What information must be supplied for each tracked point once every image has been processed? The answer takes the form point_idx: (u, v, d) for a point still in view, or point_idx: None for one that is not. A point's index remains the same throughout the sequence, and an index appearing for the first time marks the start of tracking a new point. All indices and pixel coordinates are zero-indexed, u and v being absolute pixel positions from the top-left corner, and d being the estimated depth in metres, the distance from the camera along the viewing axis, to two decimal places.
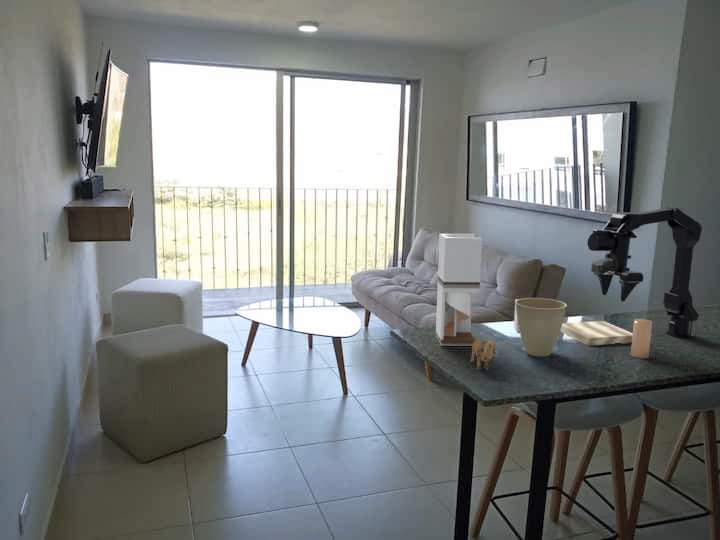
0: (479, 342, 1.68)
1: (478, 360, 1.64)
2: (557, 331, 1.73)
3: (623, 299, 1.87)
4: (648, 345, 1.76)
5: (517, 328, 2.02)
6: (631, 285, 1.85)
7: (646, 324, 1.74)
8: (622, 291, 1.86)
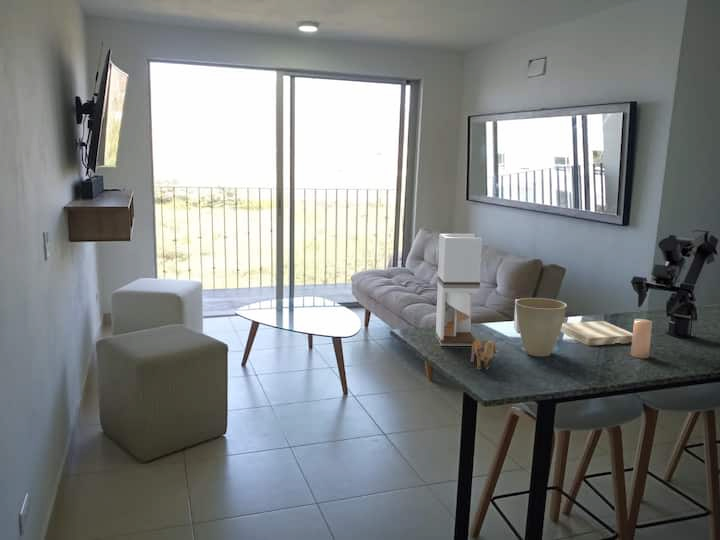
0: (479, 342, 1.69)
1: (478, 360, 1.64)
2: (557, 331, 1.73)
3: (671, 310, 1.78)
4: (648, 345, 1.76)
5: (517, 328, 2.02)
6: (682, 301, 1.79)
7: (646, 324, 1.74)
8: (675, 301, 1.78)
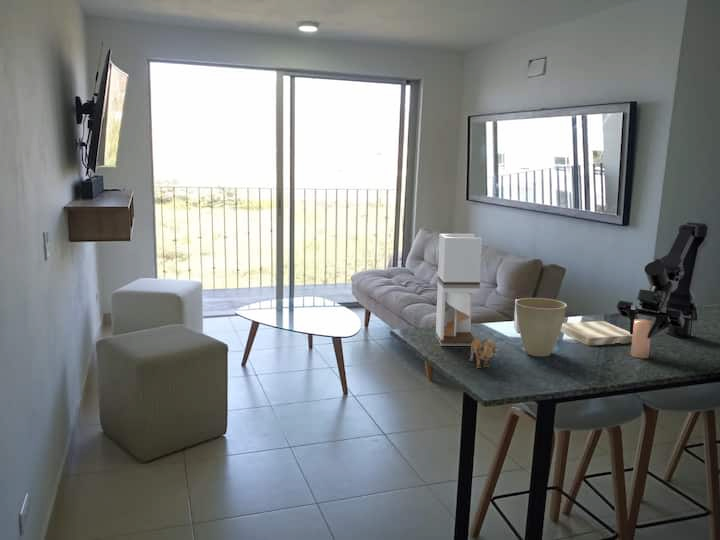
0: (478, 341, 1.69)
1: (478, 359, 1.65)
2: (557, 331, 1.73)
3: (650, 336, 1.74)
4: (648, 345, 1.76)
5: (517, 328, 2.02)
6: (661, 326, 1.76)
7: (646, 324, 1.74)
8: (654, 327, 1.74)
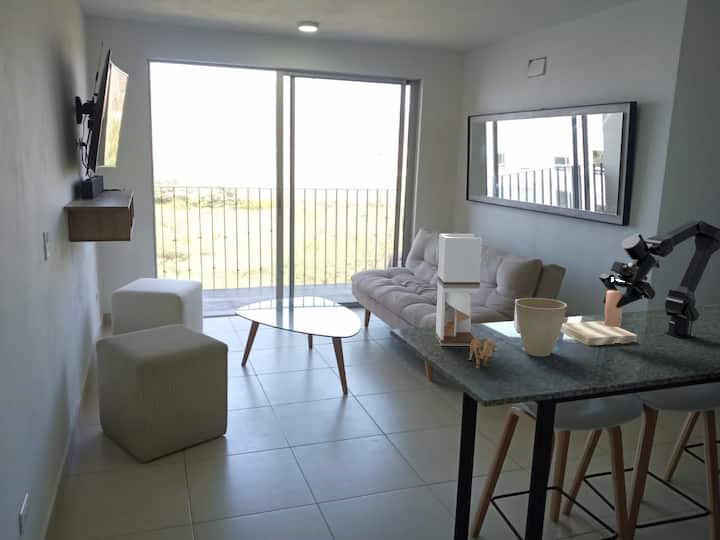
0: (477, 340, 1.70)
1: (477, 358, 1.65)
2: (557, 331, 1.73)
3: (619, 305, 1.83)
4: (618, 314, 1.84)
5: (517, 328, 2.02)
6: (633, 297, 1.83)
7: (615, 294, 1.83)
8: (623, 297, 1.83)
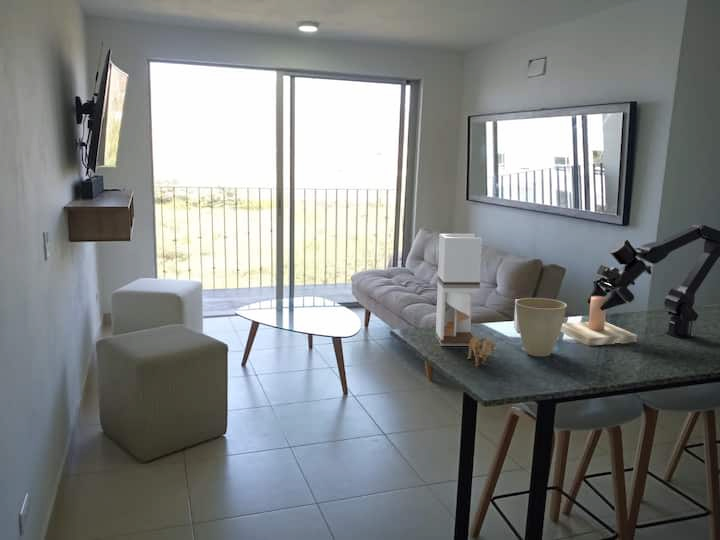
0: (476, 339, 1.71)
1: (476, 357, 1.66)
2: (557, 331, 1.73)
3: (602, 308, 1.91)
4: (599, 319, 1.95)
5: (517, 328, 2.02)
6: (618, 301, 1.90)
7: (596, 300, 1.94)
8: (607, 300, 1.91)
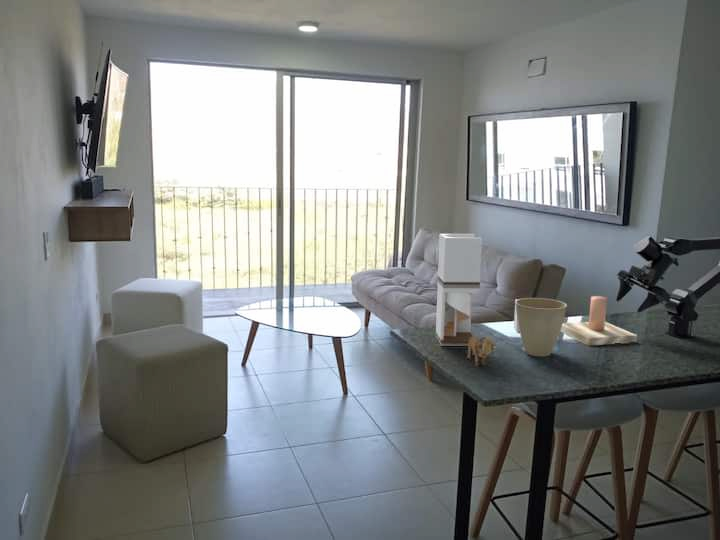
0: (475, 339, 1.72)
1: (476, 356, 1.67)
2: (557, 331, 1.73)
3: (640, 310, 1.92)
4: (599, 319, 1.95)
5: (517, 328, 2.02)
6: (654, 302, 1.91)
7: (596, 299, 1.94)
8: (644, 303, 1.91)
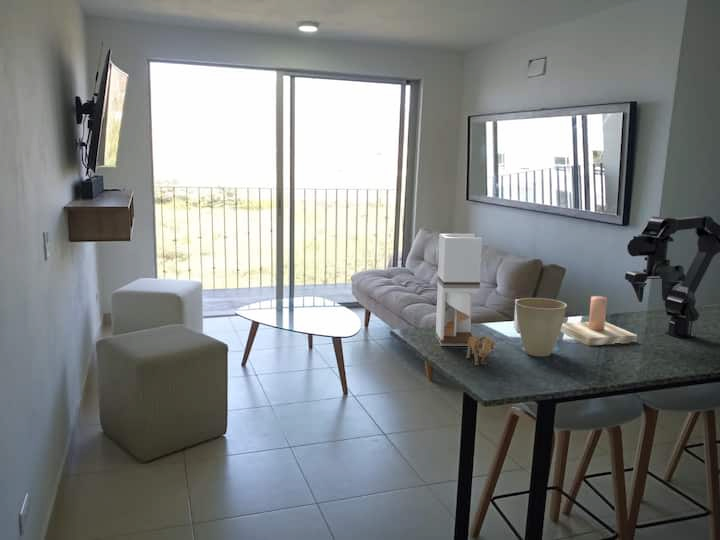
0: (475, 338, 1.72)
1: (476, 356, 1.67)
2: (557, 331, 1.73)
3: None
4: (599, 319, 1.95)
5: (517, 328, 2.02)
6: None
7: (596, 300, 1.94)
8: (669, 291, 1.93)
